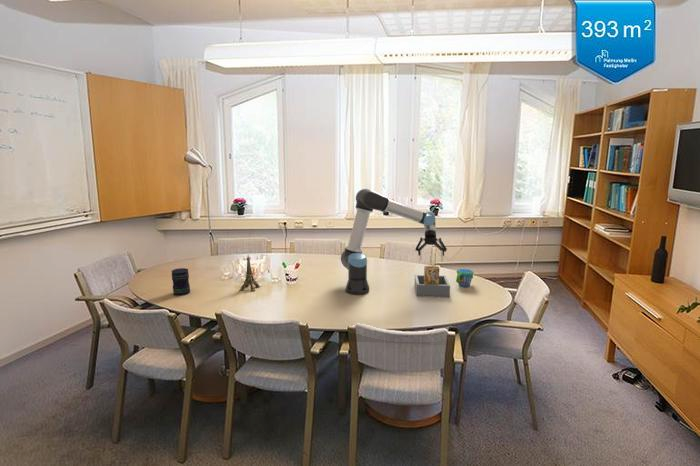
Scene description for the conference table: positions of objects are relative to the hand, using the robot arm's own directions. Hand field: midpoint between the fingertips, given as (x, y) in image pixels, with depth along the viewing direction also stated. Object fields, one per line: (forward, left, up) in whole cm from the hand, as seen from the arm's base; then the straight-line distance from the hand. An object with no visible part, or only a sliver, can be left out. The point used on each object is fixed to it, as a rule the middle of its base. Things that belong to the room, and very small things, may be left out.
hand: (431, 259), depth 268 cm
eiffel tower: (-117, -14, -19) cm, 120 cm away
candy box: (-1, -9, -17) cm, 20 cm away
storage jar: (-157, -26, -19) cm, 160 cm away
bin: (0, -9, -18) cm, 20 cm away
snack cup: (+23, +4, -19) cm, 30 cm away
